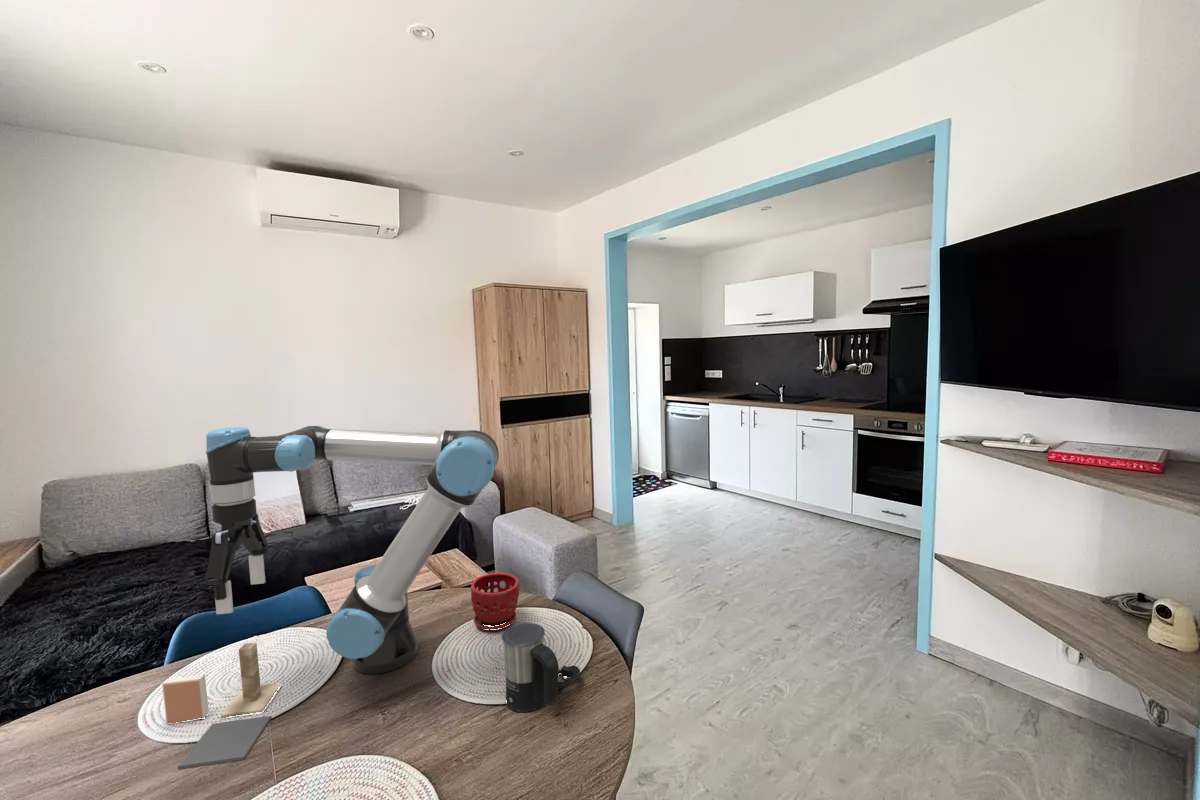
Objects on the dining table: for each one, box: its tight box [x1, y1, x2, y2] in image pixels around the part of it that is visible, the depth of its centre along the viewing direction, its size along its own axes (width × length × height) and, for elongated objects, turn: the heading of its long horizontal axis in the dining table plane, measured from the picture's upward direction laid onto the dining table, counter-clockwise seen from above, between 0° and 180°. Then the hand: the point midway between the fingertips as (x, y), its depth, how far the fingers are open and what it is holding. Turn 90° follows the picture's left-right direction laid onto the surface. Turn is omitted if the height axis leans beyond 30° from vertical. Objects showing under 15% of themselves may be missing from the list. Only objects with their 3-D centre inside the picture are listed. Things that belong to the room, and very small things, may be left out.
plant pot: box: [470, 572, 520, 630], centre depth 141 cm, size 13×13×12 cm
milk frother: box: [501, 622, 581, 713], centre depth 111 cm, size 14×16×15 cm
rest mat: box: [177, 715, 272, 770], centre depth 99 cm, size 11×11×1 cm
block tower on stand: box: [220, 642, 282, 719], centre depth 110 cm, size 8×9×13 cm
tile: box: [162, 673, 210, 725], centre depth 105 cm, size 7×2×9 cm, turn 100°
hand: (242, 597), depth 108 cm, fingers open, 13 cm apart
